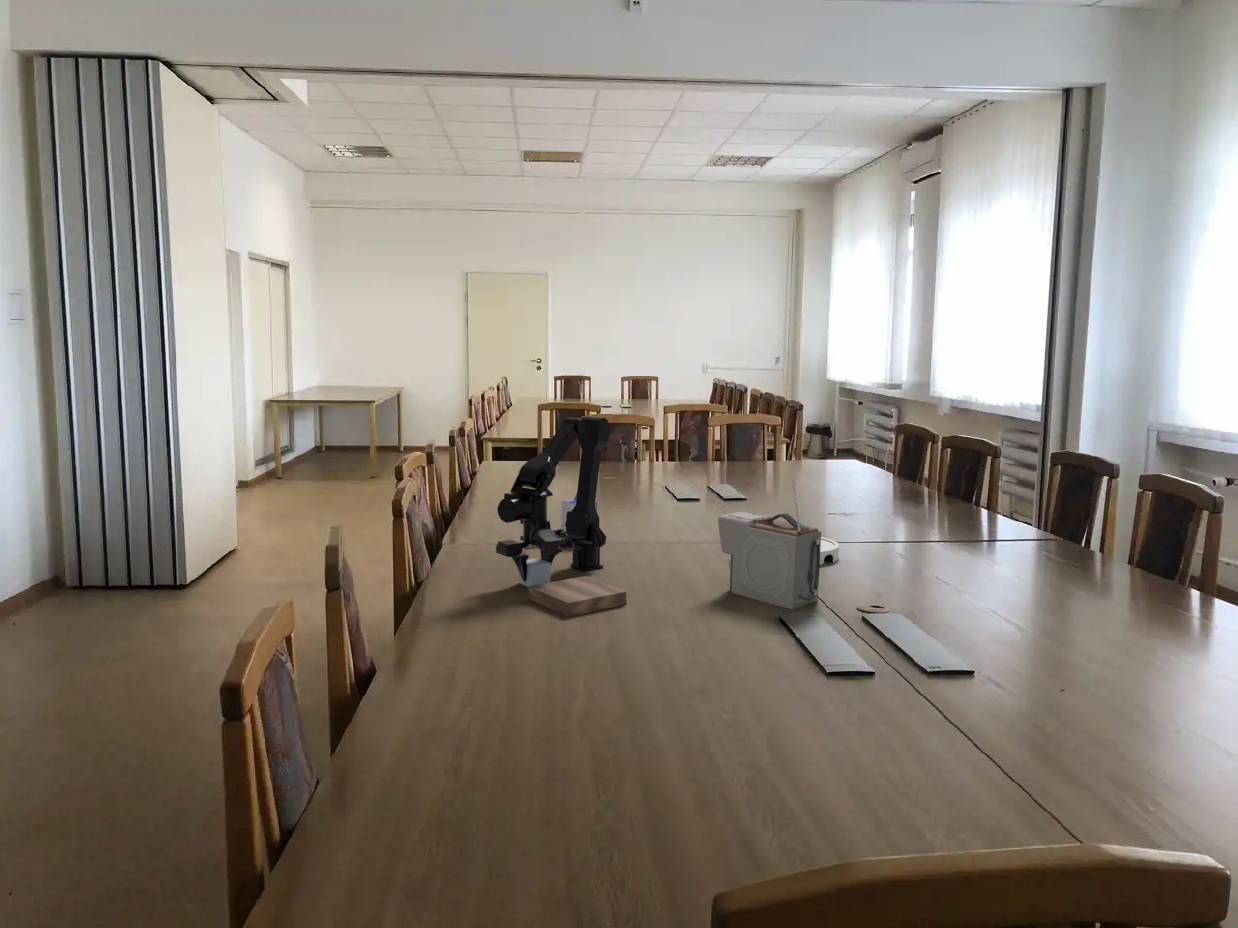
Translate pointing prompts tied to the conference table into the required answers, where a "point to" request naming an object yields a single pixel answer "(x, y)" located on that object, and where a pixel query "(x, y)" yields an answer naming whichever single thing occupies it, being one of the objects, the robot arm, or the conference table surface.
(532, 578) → the slate cube
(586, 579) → the walnut base
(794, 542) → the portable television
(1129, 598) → the conference table surface
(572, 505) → the ink cartridge box
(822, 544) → the ashtray
